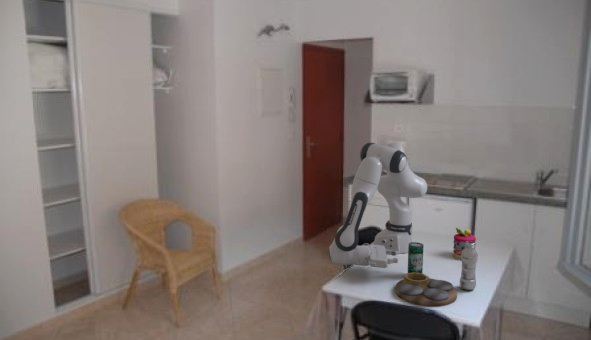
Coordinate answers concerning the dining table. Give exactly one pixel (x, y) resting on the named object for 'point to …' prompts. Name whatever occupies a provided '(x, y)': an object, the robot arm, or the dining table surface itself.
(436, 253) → the dining table surface
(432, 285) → the wooden stone platter
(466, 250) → the plastic bottle
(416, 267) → the can
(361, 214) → the robot arm
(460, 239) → the cake
